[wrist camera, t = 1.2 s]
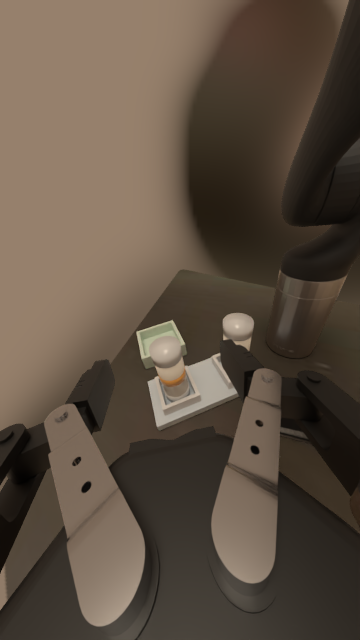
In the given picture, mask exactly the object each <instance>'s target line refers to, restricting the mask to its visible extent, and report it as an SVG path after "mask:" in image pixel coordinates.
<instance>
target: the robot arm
mask: <svg viewBox="0 0 360 640" xmlns="http://www.w3.org/2000/svg"><path fill="white" fill-rule="evenodd" d="M282 215H283V218H284V220H285V221H286V223H288V224H289V225H292V226H299V227H300V226H301V227H305V226H318V225H330V224H332V226H331V227H330V228H329V230H327V231H326V232H325V233H323V234H322V235H320V236H319V237H317V238H315V239H313V240H311V241H309V242H306V243H303V244H301V245H298V246H295V247H293V248H291V249H289V250H288V251H286V252H285V254H284V255H283V258H282V261H281V266H280V272H279V277H278V281H277V287H276V292H275V296H274V301H273V306H272V311H271V316H270V321H269V325H268V330H267V335H266V343H267V345H268V346H269V348H270V349H271V350H273V351H274V352H276V353H277V354H279V355H282V356H284V357H288V358H303V357H306V356H309V355H310V354H311V353H312V351H313V349H314V347H315V345H316V342H317V340H318V338H319V336H320V334H321V332H322V329H323V327H324V325H325V323H326V321H327V318H328V316H329V314H330V312H331V310H332V308H333V305H334V303H335V301H336V299H337V296H338V294H339V292H340V290H341V287H342V285H343V283H344V281H345V279H346V276H347V274H348V272H349V270H350V268H351V266H352V264H353V263H354V262H355V261H356V259H357V258H358V257H359V255H360V0H349V3H348V6H347V9H346V13H345V16H344V19H343V22H342V26H341V29H340V32H339V35H338V38H337V42H336V45H335V48H334V51H333V54H332V58H331V61H330V63H329V67H328V69H327V72H326V75H325V78H324V81H323V84H322V87H321V90H320V93H319V95H318V98H317V101H316V103H315V106H314V108H313V111H312V114H311V116H310V119H309V121H308V124H307V126H306V129H305V132H304V134H303V137H302V139H301V142H300V144H299V147H298V150H297V152H296V155H295V157H294V160H293V163H292V165H291V168H290V171H289V174H288V177H287V180H286V184H285V188H284V191H283V198H282ZM220 359H221V364H222V367H223V369H224V370H225V372H226V374H227V376H228V377H229V379H230V381H231V383H232V384H233V386H234V388H235V390H236V391H237V393H238V395H239V397H240V398H241V400H242V402H243V403H244V405H243V408H242V412H241V416H240V420H239V423H238V427H237V431H236V434H235V438H232V437H230V436H227V435H224V434H219V433H215V430H214V427H213V426H212V427H207V428H202V429H197V430H193V431H191V432H189V433H187V434H185V435H183V436H181V437H179V438H177V439H175V440H160V439H148V440H144V441H139V442H134V443H130V449H129V452H127V453H125V454H124V455H122V456H121V457H119V458H118V459H117V460H116V461H115V462H113V463H112V464H111V465H110V466H109V468H108V466H107V464H106V463H105V461H104V459H103V457H102V455H101V453H100V451H99V449H98V447H97V445H96V443H95V442H94V440H93V438H92V433H93V432H97V431H101V428H102V424H103V421H104V418H105V415H106V411H107V408H108V405H109V402H110V398H111V395H112V392H113V389H114V385H115V379H114V375H113V372H112V369H111V366H110V363H109V361H108V360H107V359H106V360H100V361H96V362H95V363H94V365H93V366H92V368H91V369H90V370H87V371H86V372H85V373H84V374H83V375H82V376H81V378H80V380H79V382H78V383H77V385H76V387H75V388H74V390H73V391H72V393H71V395H70V396H69V398H68V400H67V401H66V403H65V405H63V406H60V407H58V408H57V409H55V410H54V411H53V412H51V413H50V414H49V415H48V417H47V418H46V419H45V422H44V423H41V424H39V425H36V426H34V427H32V428H29V429H26V427H25V426H24V425H23V424H15V425H12V426H9V427H7V428H5V429H4V430H2V431H0V485H1V483H2V481H3V480H4V478H5V477H6V476H7V477H8V480H7V482H6V483H5V485H4V487H3V488H2V490H1V492H0V573H1V570H2V568H3V566H4V564H5V561H6V559H7V557H8V555H9V553H10V550H11V548H12V546H13V544H14V541H15V539H16V537H17V535H18V533H19V530H20V528H21V526H22V524H23V521H24V519H25V517H26V515H27V512H28V510H29V508H30V506H31V504H32V501H33V499H34V497H35V495H36V492H37V490H38V488H39V486H40V484H41V481H42V479H43V477H44V475H45V472H46V470H47V469H49V468H51V469H52V474H53V478H54V482H55V486H56V491H57V495H58V499H59V503H60V508H61V512H62V516H63V520H64V527H63V528H62V529H61V531H60V532H59V533H58V535H57V536H56V537H55V539H54V540H53V541H52V543H51V544H50V545H49V546H48V548H47V549H46V550H45V552H44V553H43V554H42V556H41V557H40V558H39V560H38V561H37V562H36V564H35V565H34V566H33V568H32V569H31V570H30V572H29V573H28V574H27V576H26V577H25V578H24V580H23V581H22V582H21V584H20V585H19V586H18V588H17V589H16V590H15V592H14V593H13V594H12V596H11V597H10V598H9V600H8V601H7V602H6V604H5V605H4V606H3V608H2V609H1V610H0V640H360V534H359V533H358V532H357V531H356V530H355V529H354V528H352V527H351V526H350V525H349V524H347V523H346V522H345V521H344V520H342V519H341V518H340V517H338V516H337V515H336V514H334V513H333V512H332V511H330V510H329V509H328V508H326V507H325V506H324V505H323V504H321V503H320V502H319V501H317V500H316V499H315V498H313V497H312V496H311V495H309V494H308V493H307V492H305V491H304V490H303V489H301V488H300V487H299V486H298V485H296V484H295V483H294V482H292V481H291V480H290V479H288V478H287V477H286V476H284V475H283V474H282V473H280V472H279V471H278V467H279V446H280V425H281V418H290V419H294V420H295V422H296V423H297V425H298V426H299V427H300V429H301V430H302V431H303V433H304V434H305V435H306V437H307V438H308V439H309V441H310V442H311V443H312V445H313V446H314V447H315V449H316V450H317V451H318V453H319V454H320V455H321V457H322V458H323V460H324V461H325V462H326V464H327V465H328V466H329V468H330V469H331V470H332V472H333V473H334V474H335V476H336V477H337V478H338V480H339V481H340V482H341V484H342V485H343V486H344V488H345V489H346V490H347V492H348V493H349V495H350V496H351V498H350V508H351V512H352V514H353V516H354V518H355V520H356V521H357V523H358V525H359V527H360V404H359V403H358V402H356V401H355V400H354V399H353V398H351V397H350V396H349V395H348V394H346V393H345V392H344V391H343V390H342V389H340V388H339V387H338V386H337V385H335V384H334V383H333V382H332V381H330V380H329V379H328V378H327V377H325V376H324V375H322V374H320V373H317V372H314V371H301V372H299V373H298V376H297V378H285V377H281V376H280V375H279V374H278V373H277V372H275V371H273V370H270V369H265V368H264V367H263V366H262V365H261V364H260V363H259V361H258V360H257V359H256V358H255V357H253V355H252V354H251V353H250V352H249V351H248V350H247V348H245V347H244V346H242V345H240V344H239V345H236V344H235V343H234V342H233V340H232V339H227V340H221V341H220Z"/></svg>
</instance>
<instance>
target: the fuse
mask: <svg viewBox="0 0 360 640" xmlns="http://www.w3.org/2000/svg"><path fill="white" fill-rule="evenodd" d="M253 327H254V321H253V319H252V318H251V317H250V316H248V315H246V314H242V313H232V314H229V315H227V316H226V317H225V318H224V319H223V340H227V339H232V340H233V342H234V343H235V344H236V345H239V344H240V345H242V346H244V347H245V348H247V350H248V351H249V350H250V343H251V336H252V334H253Z"/></svg>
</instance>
